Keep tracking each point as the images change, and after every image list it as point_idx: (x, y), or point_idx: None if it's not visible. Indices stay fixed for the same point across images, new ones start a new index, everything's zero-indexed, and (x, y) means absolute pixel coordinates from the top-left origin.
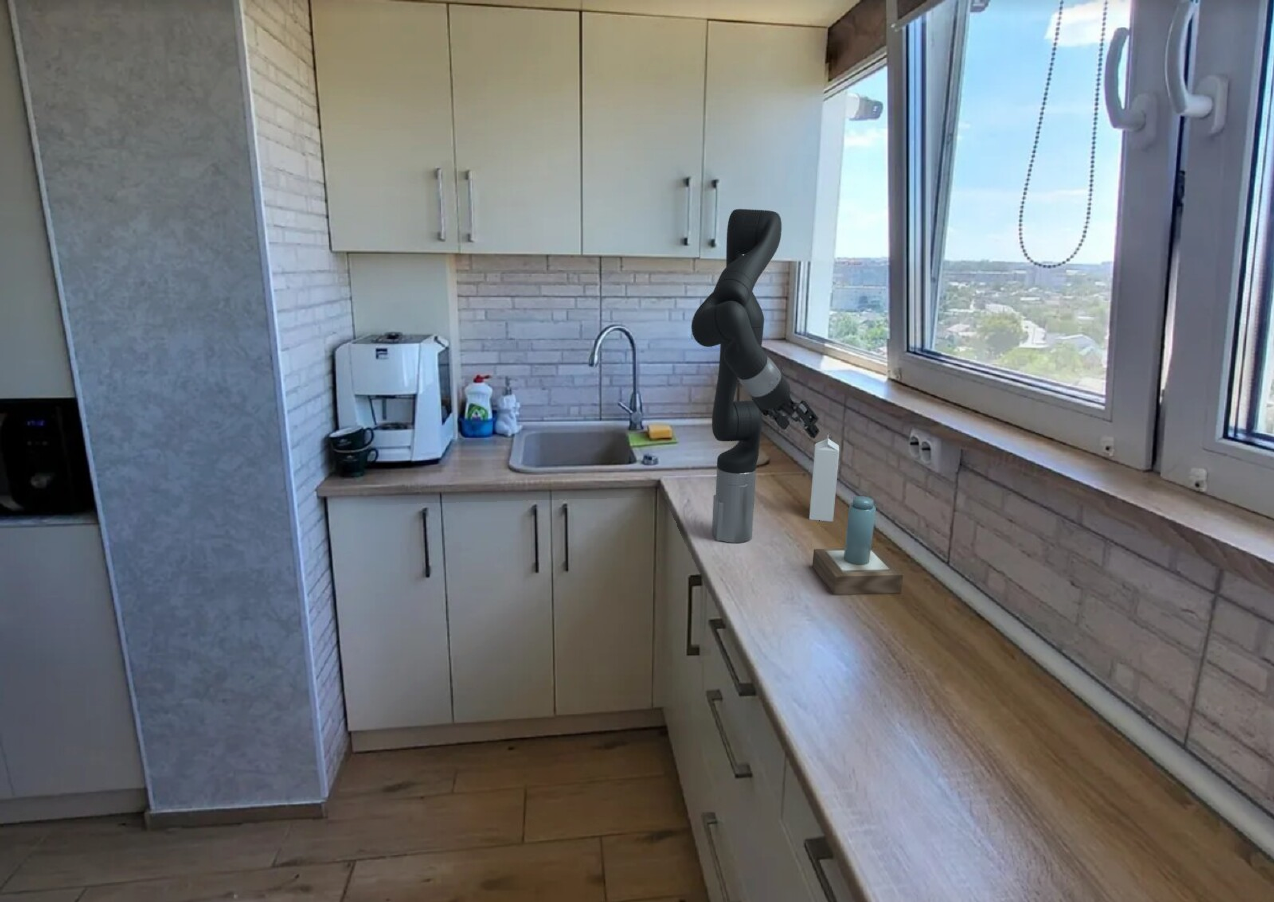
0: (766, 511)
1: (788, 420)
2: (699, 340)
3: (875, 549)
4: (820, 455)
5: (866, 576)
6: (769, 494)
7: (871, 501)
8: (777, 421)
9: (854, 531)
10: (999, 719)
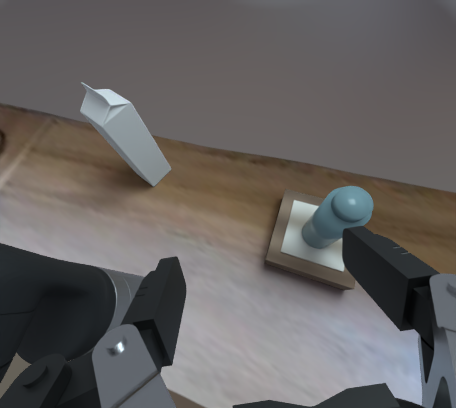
0: (108, 216)
1: (172, 263)
2: None
3: (289, 192)
4: (115, 127)
5: None
6: (71, 183)
7: (365, 194)
8: (174, 350)
9: None
10: None
